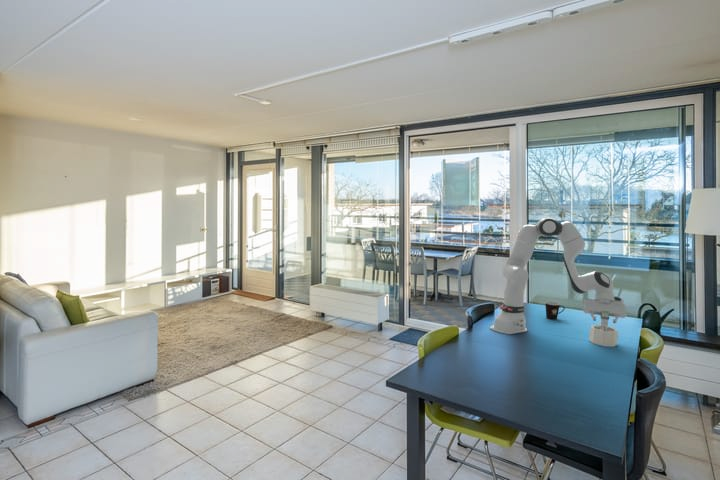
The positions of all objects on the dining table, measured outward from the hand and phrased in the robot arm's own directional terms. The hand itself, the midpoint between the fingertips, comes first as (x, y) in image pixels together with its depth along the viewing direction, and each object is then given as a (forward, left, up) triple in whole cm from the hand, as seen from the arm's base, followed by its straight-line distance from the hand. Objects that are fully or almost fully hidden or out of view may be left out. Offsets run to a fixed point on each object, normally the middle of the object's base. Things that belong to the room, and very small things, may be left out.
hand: (604, 321), depth 214 cm
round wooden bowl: (0, 0, -12) cm, 12 cm away
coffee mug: (+25, +40, -12) cm, 49 cm away
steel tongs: (+1, 0, -11) cm, 11 cm away
